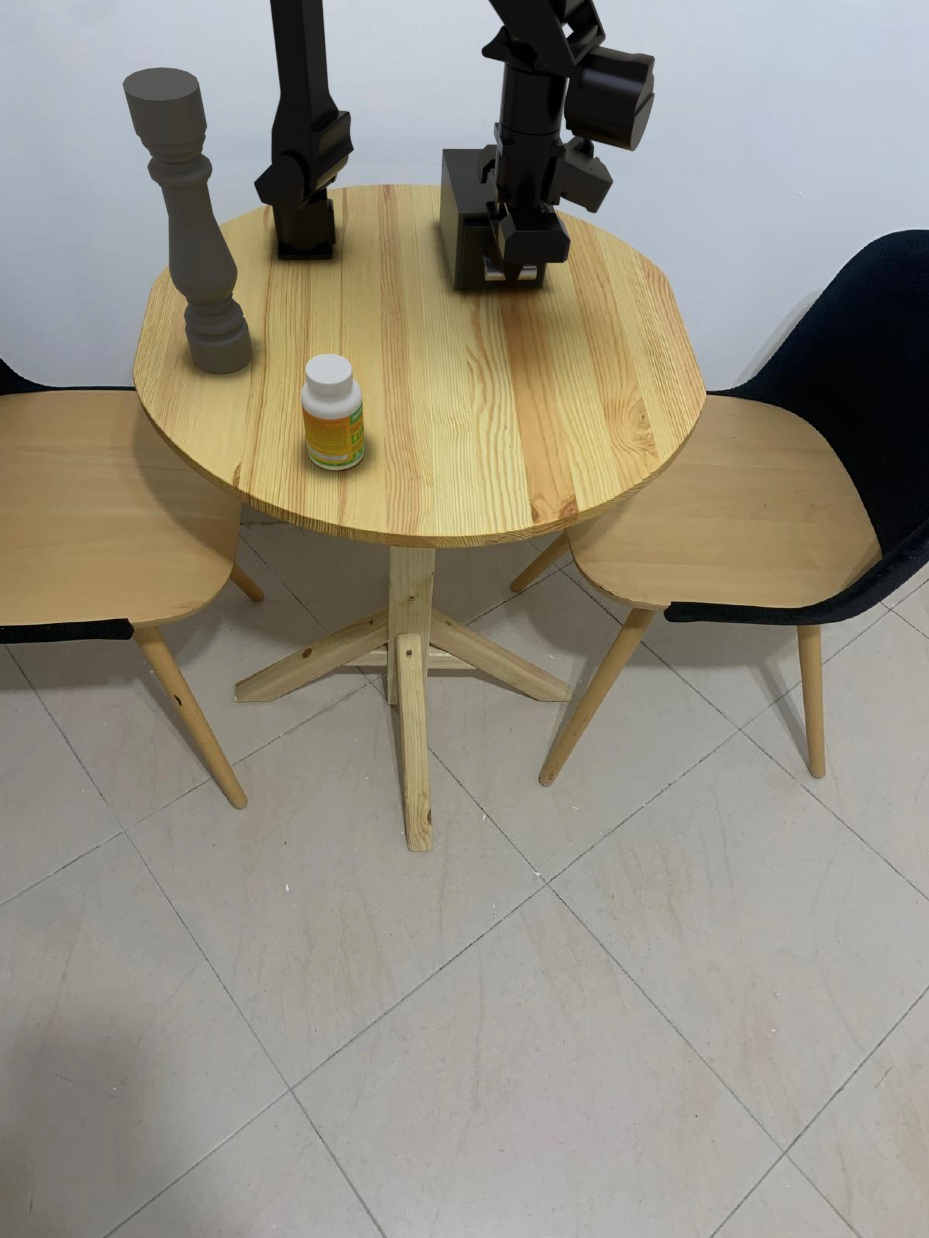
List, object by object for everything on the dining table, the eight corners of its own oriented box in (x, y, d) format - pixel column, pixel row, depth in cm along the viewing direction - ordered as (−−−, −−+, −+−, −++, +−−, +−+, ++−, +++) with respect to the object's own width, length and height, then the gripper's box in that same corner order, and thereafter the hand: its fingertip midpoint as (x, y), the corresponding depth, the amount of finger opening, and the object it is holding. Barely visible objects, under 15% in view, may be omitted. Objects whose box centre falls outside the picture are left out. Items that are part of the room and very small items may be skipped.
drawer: (547, 309, 87) (559, 247, 81) (465, 311, 86) (470, 249, 80) (521, 227, 96) (529, 166, 90) (446, 228, 95) (449, 166, 89)
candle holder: (192, 376, 78) (116, 103, 57) (191, 337, 81) (120, 66, 61) (254, 371, 79) (202, 101, 58) (251, 334, 82) (201, 65, 62)
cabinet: (542, 288, 91) (555, 211, 83) (453, 290, 89) (458, 212, 82) (521, 224, 98) (531, 148, 91) (439, 225, 97) (442, 148, 89)
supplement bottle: (362, 474, 72) (357, 391, 64) (304, 470, 72) (292, 387, 64) (367, 434, 75) (363, 350, 67) (311, 430, 75) (301, 345, 67)
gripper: (641, 170, 66) (603, 332, 79) (592, 83, 77) (565, 237, 90) (514, 169, 65) (496, 334, 77) (482, 80, 76) (471, 238, 88)
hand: (511, 282), depth 83 cm, fingers closed
